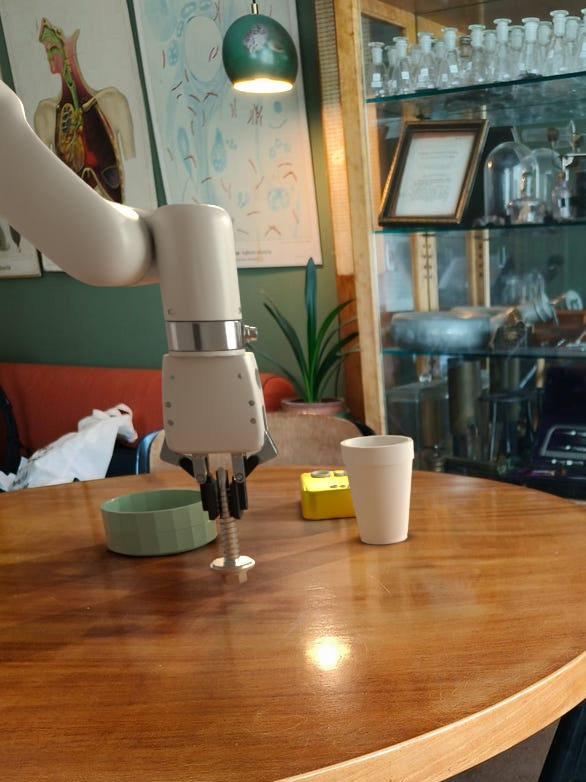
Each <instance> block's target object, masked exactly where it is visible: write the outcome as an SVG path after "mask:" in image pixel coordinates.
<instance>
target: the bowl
mask: <svg viewBox="0 0 586 782" xmlns="http://www.w3.org/2000/svg"><path fill="white" fill-rule="evenodd" d="M99 508H100V513H101V518H102V524H103V529H104V534H105V539H106V543H107V549H108V550H110V551H111V552H114V553H116V554H117V553H118V554H122V555H126V556H133V557H157V556H167V555H174V554H180V553H184V552H187V551H192V550H195V549H198V548H200V547H203V546H205V545H207V544H209V543H210V542H212V541H214V540H215V539H216V538H217V536H218V534H219V533H218V528H217V519H215V520H209V515H208V511H203V508H202V501H201V493H200V489H193V488H165V489H154V490H153V489H152V490H144V491H138V492H133V493H127V494H122V495H119V496H115V497H112V498H110V499H107V500H105V501H104V502H102V503H101V504H100V505H99Z"/></svg>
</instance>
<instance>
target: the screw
mask: <svg viewBox="0 0 586 782" xmlns="http://www.w3.org/2000/svg"><path fill="white" fill-rule="evenodd" d="M214 472H215V480H216V481H217V491H216V492H217V496H216V497H217V498H218V501H217V502H216V503H218V507H217V508H219V512H218V514H219V516H218V517H217V519H219V523H218V524H219V525H220V528H219V530H220V531H221V533H220V535H221V538H220V541H222V543H221V546H222V547H223V548H222V549H221V550H222V551H223V554H222V557H219V558H216V559H213V561H212V562H211V563H210V564H209V568H210V570H211V571H212V572H214V573H218V574H219V575H220V580H221V583H223V584H225V585H226V586H234V585H235V586H237V585H241V584H243V583H246V582H247V581H248V577H247V575H248V574H247V572H248V571H249V570H250V569H251V570H252V569H253V568H254V567H256V562H255V560H254V559H252V558H251V557H250V556H246V555H240V554H239V553H240V552H241V550H240V549H239V547H240V544H238V542H239V539H238V537H239V535H238V534H237V532H238V528H236V527H237V525H238V524H237V523H236V521H237V520H235V518H233V511H232V503H231V494H230V478H229V470H228V468H226V467H224V466H222V465H220V466H219V467H218V468H216V469H215V470H214Z"/></svg>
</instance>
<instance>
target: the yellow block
mask: <svg viewBox="0 0 586 782" xmlns="http://www.w3.org/2000/svg"><path fill="white" fill-rule="evenodd" d="M298 485H299V495H300V503H301V513H302V517H303V518H304V519H306V520H311V521H319V520H331V519H342V518H356V515H355V510H354V506H353V501H352V496H351V492H350V487H349V483H348V478H347V473H346V469H341V470H327V469H319V470H314V471H311V472H304V473H301V474H300V475H299V476H298Z"/></svg>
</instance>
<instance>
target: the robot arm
mask: <svg viewBox="0 0 586 782" xmlns="http://www.w3.org/2000/svg"><path fill="white" fill-rule="evenodd" d="M0 218H1V219H2V220H4V221H5V222H6V223H7V224H8V225H9V226H10V227H11V228H12V229H13V230H14V231H16V233H18V234H19V235H20V236H21V237H22V238H24V239H25V240H26V241H27V242H28V243H30V244H31V245H32V246H33V247H34V248H35V249H37V250H38V251H39V252H40V253H41V254H42V255H43V256H44V257H46V258H47V259H48V260H49V261H51V262H52V263H53V264H54V265H56V266H57V267H58V268H59V269H60V270H61V271H63V272H64V273H65V274H66V275H68V276H70V277H72V278H74V279H75V280H78V281H80V282H82V283H84V284H87V285H89V286H94V287H104V288H105V287H109V288H110V287H116V288H132V287H134V288H135V287H140V286H148V285H153V284H159V288H160V295H161V303H162V310H163V318H164V324H165V333H166V340H167V348H168V353H165V354H163V355H162V363H161V402H162V419H163V420H162V421H163V429H164V438H163V442H162V444H161V448H160V452H159V459H160V460H161V461H162V462H165V463H167V464H171V465H173V466H176V467H180V468H181V469H182V470H184V471H185V472H186V473H187V474H189V475H190V476H191V477H192V478H193V479H194V480H195V482H196V483H197V484H198V486H199V490H200V493H201V501H202V508H203V511H208V515H209V520H217V519H218V518H219V517H220V515H219V514H218V512H219V508H217V507H218V503H216V502H217V501H218V498H217V497H216V496H217V492H216V491H217V481H216V477H214V474H213V473H212V470H211V464H210V463H211V462H210V456H209V455H211V454H212V455H213V454H214V455H215V454H230V457H231V467H232V476H231V482H229V485H230V494H231V503H232V511H233V518H235V520H236V521H237V520H238V521H239V520H241V519H242V518H243V516H244V513H245V511H248V510H249V497H248V487H247V478H248V477H249V476H250V475H251V473H252V472H253V471H254V470H255V469H256V468H258V466H259V465H262V464H266V463H267V462H270V461H271V460H274V459H275V458H277V456H278V454H279V450H278V448H277V446H276V444H275V442H274V440H273V438H272V437H271V434H270V432H269V427H268V419H267V412H266V411H267V410H266V405H265V398H264V392H263V387H262V382H261V376H260V371H259V367H258V363H257V359H256V356H255V354H254V352H251V351H246V347H247V345H248V344H249V343H252V342H258V341H259V330H258V327H257V326H256V327H255V326H254V327H253V326H250V325H247V324H246V323H245V322H244V319H243V315H242V314H243V313H242V305H241V296H240V285H239V277H238V276H239V275H238V267H237V256H236V247H235V246H236V245H235V236H234V228H233V221H232V219H231V216H230V215H229V213H228V211H227V210H225V209H224V208H223V207H220V206H217V205H212V204H204V203H171V204H164V205H161V206H159V207H157V208H156V209H147V208H142V207H141V208H140V207H134V206H129V205H125V204H122V203H119V202H115V201H112V200H108V199H105V198H104V197H103V196H102V195H100V194H99V193H98V192H97V191H96V190H95V189H93V188H92V187H91V186H90V185H89V184H88V183H86V181H85V180H84V179H82V178H81V177H80V176H79V175H78V174H76V172H74V170H73V169H71V168H70V167H69V165H67V164H66V163H65V162H64V161H62V159H60V158H59V157H58V156H57V155H56V154H55V153H54V152H53V151H52V150H51V149H50V148H49V147H48V146H47V145H46V144H45V143H44V142H43V140H41V138H39V136H38V134H36V132H35V131H34V130H33V128H32V127H31V125H30V124H29V122H28V120H27V117H26V115H25V109H24V105H23V102H22V101H21V99H20V98H19V96H18V95H17V94H16V92H14V91H13V90H12V88H11V87H10V86H9V85H7V84H6V82H4V81H3V80H1V79H0ZM242 319H243V320H242ZM253 452H254V453H253ZM247 453H251V454H250V455H249V456H248V454H247Z"/></svg>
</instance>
